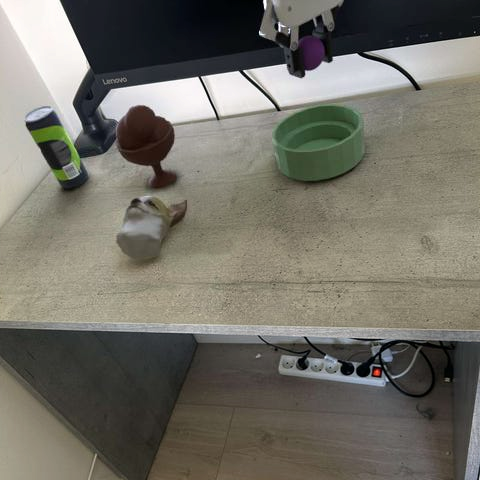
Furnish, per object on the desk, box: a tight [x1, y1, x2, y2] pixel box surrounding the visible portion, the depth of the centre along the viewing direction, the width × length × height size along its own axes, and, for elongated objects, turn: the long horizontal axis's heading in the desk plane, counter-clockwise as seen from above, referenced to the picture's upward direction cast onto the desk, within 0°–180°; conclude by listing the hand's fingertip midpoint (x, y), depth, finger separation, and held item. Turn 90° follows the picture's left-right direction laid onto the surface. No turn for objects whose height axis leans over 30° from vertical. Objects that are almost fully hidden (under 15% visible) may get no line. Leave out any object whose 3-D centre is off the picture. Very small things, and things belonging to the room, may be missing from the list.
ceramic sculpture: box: [115, 195, 188, 262], centre depth 79 cm, size 11×9×15 cm
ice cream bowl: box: [114, 104, 177, 190], centre depth 89 cm, size 11×11×15 cm
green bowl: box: [271, 103, 366, 182], centre depth 84 cm, size 15×15×6 cm
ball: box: [298, 35, 325, 72], centre depth 69 cm, size 4×4×4 cm
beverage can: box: [23, 105, 89, 189], centre depth 97 cm, size 6×6×15 cm
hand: (310, 66), depth 71 cm, fingers closed on ball, 4 cm apart
